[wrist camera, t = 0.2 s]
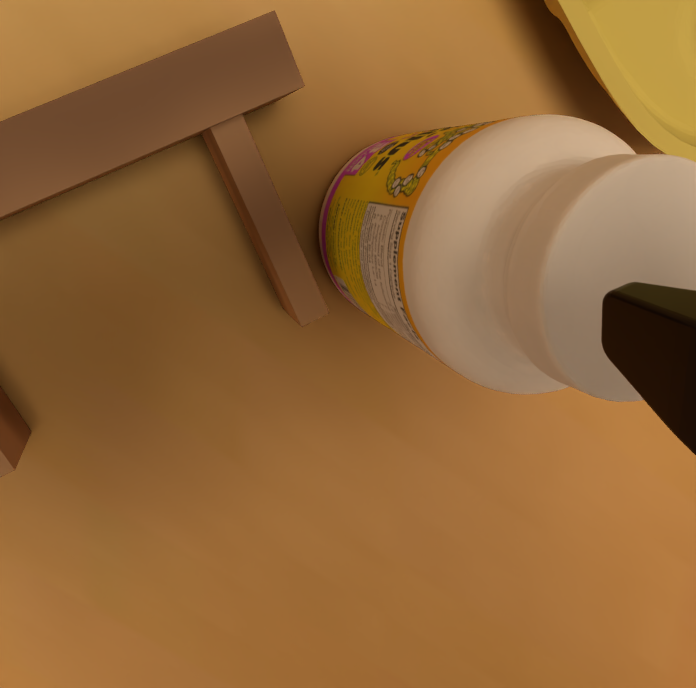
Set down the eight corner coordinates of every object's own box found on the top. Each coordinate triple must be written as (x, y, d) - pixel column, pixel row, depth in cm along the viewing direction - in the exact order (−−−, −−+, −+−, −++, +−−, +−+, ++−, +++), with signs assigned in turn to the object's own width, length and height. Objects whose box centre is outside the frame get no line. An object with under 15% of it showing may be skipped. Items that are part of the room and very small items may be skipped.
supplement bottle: (482, 133, 24) (819, 94, 12) (478, 307, 26) (768, 424, 14) (307, 137, 22) (499, 94, 10) (315, 325, 24) (488, 477, 12)
